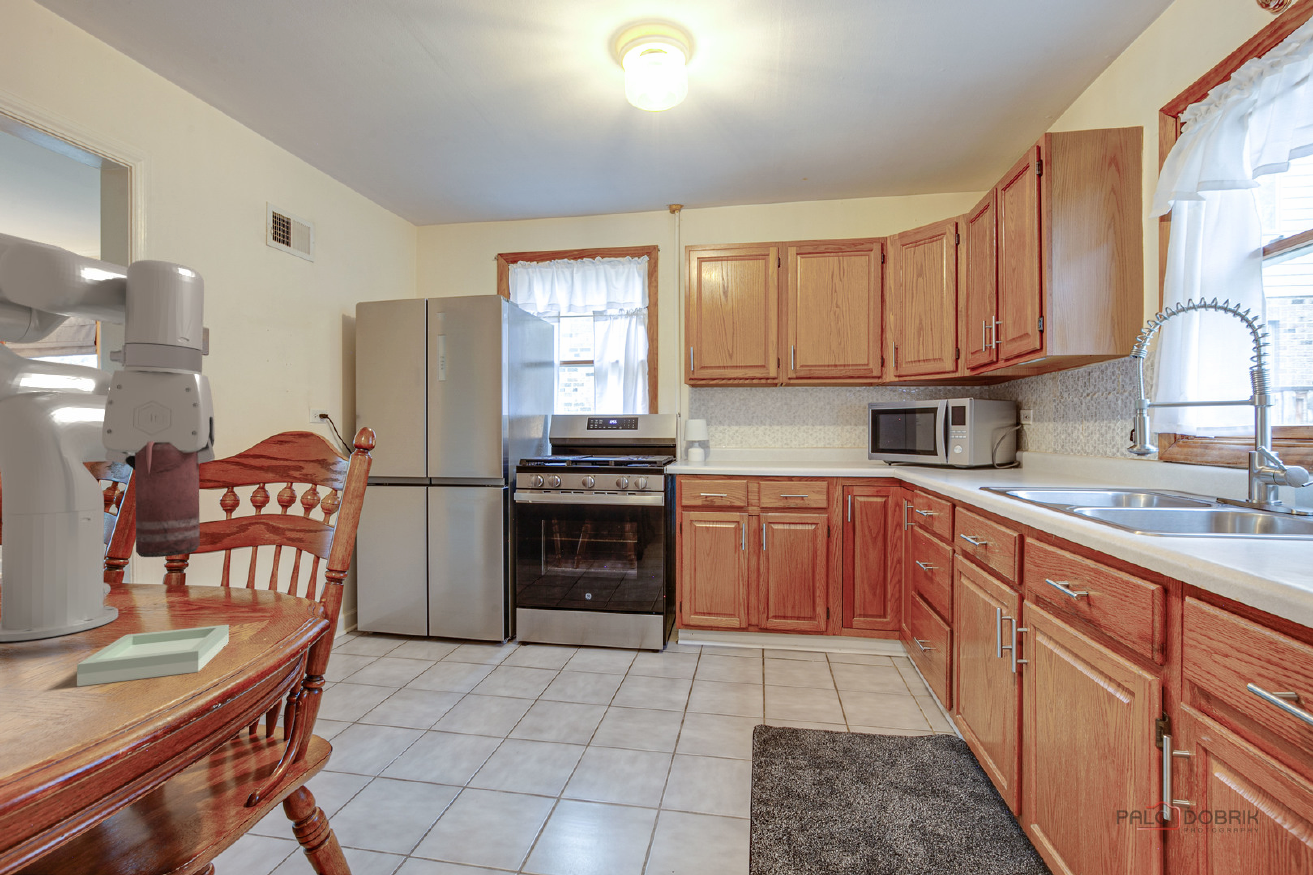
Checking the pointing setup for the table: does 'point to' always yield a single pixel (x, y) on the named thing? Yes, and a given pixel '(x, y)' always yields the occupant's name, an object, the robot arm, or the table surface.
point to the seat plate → (153, 655)
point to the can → (166, 501)
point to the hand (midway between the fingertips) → (160, 508)
